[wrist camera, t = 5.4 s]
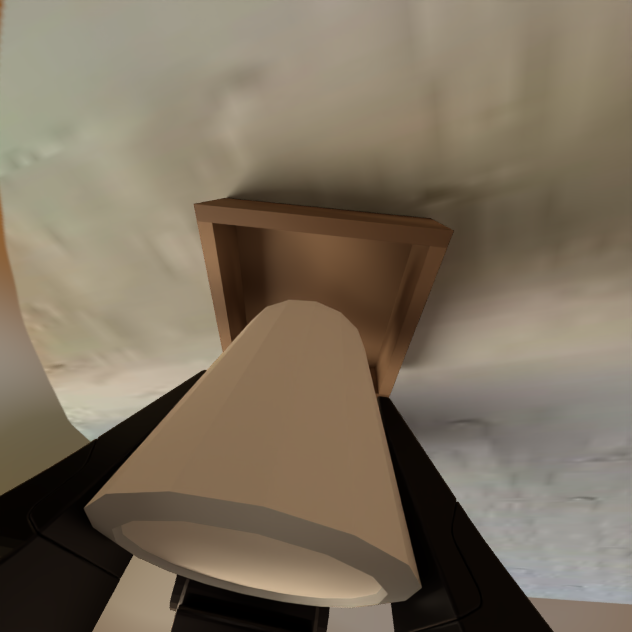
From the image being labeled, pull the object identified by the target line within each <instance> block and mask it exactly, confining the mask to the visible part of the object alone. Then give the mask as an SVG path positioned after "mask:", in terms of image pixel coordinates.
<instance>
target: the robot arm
mask: <svg viewBox="0 0 632 632" xmlns="http://www.w3.org/2000/svg"><path fill="white" fill-rule="evenodd" d="M206 371H207V370H203V371H201V372H199V373H198V374H196V375H195V376H193V377H191V378H190V379H188V380H187V381H185V382H184V383H182V384H181V385H179V386H177V387H176V388H174V389H173V390H171V391H170V392H168V393H166V394H165V395H163V396H162V397H160V398H159V399H157V400H156V401H154V402H152V403H151V404H149V405H148V406H146V407H145V408H143V409H141V410H140V411H138V412H137V413H135V414H134V415H132V416H131V417H129V418H127V419H126V420H124V421H123V422H121V423H120V424H118V425H116V426H115V427H113V428H112V429H110V430H109V431H107V432H106V433H104V434H102V435H101V436H99V437H98V439H94V440H93V441H91V442H90V443H88V444H87V445H85V446H84V447H82V448H80V449H79V450H77V451H76V452H74V453H72V454H71V455H69V456H67V457H66V458H64V459H63V460H61V461H59V462H58V463H56V464H54V465H53V466H51V467H49V468H48V469H46V470H44V471H42V472H41V473H39V474H37V475H36V476H34V477H33V478H31V479H29V480H27V481H25V482H24V483H22V484H20V485H18V486H16V487H15V488H13V489H11V490H9V491H8V492H6V493H4V494H3V495H1V496H0V632H92V631H93V629H94V627H95V625H96V623H97V622H98V620H99V618H100V616H101V614H102V612H103V611H104V609H105V607H106V605H107V603H108V601H109V599H110V597H111V596H112V594H113V592H114V590H115V588H116V586H117V584H118V583H119V581H120V578H121V577H122V575H123V573H124V571H125V569H126V567H127V566H128V564H129V562H130V560H131V558H132V556H133V554H132V553H130V552H129V551H127V550H126V549H124V548H122V547H121V546H119V545H118V544H117V543H115V542H114V541H112V540H111V539H109V538H108V537H106V536H105V535H103V534H102V533H100V532H99V531H98V530H96V529H95V528H93V526H92V524H91V522H90V520H89V518H88V516H87V514H86V512H85V510H84V507H85V506H86V505H87V504H88V503H89V502H90V501H91V499H92V498H93V497H94V496H95V495H96V494H97V493H98V492H99V491H100V489H101V488H102V487H103V486H104V485H105V484H106V483H107V482H108V480H109V479H110V478H111V477H112V476H113V475H114V474H115V473H116V472H117V470H118V469H119V468H120V467H121V466H122V465H123V464H124V463H125V461H126V460H127V459H128V458H129V457H130V456H131V455H132V454H133V452H134V451H135V450H136V449H137V448H138V447H139V446H140V445H141V444H142V442H143V441H144V440H145V439H146V438H147V437H148V436H149V435H150V433H151V432H152V431H153V430H154V429H155V428H156V427H157V426H158V425H159V423H160V422H161V421H162V420H163V419H164V418H165V417H166V416H167V414H168V413H169V412H170V411H171V410H172V409H173V408H174V407H175V406H176V404H177V403H178V402H179V401H180V400H181V399H182V398H183V397H184V395H185V394H186V393H187V392H188V391H189V390H190V389H191V388H192V386H193V385H194V384H195V383H196V382H197V381H198V380H199V379H200V378H201V376H202V375H203V374H204V373H205V372H206ZM377 403H378V407H379V411H380V415H381V419H382V423H383V428H384V432H385V436H386V440H387V444H388V448H389V453H390V457H391V461H392V465H393V469H394V473H395V478H396V482H397V486H398V490H399V494H400V498H401V503H402V507H403V511H404V515H405V519H406V523H407V528H408V532H409V536H410V540H411V544H412V549H413V553H414V557H415V561H416V565H417V569H418V574H419V578H420V582H421V586H422V588H421V589H420V590H418V591H417V592H416V593H415V594H413V595H412V596H411V597H409V598H408V599H407V600H406V601H399V602H393V603H391V607H392V615H393V624H394V632H553V630H552V629H551V628H550V627H549V625H548V624H547V622H546V621H545V620H544V619H543V617H542V616H541V615H540V613H539V612H538V611H537V609H536V608H535V607H534V605H533V604H532V603H531V601H530V600H529V599H528V598H527V596H526V595H525V594H524V592H523V591H522V590H521V588H520V587H519V586H518V584H517V583H516V582H515V580H514V579H513V578H512V576H511V575H510V574H509V573H508V571H507V570H506V569H505V567H504V566H503V565H502V563H501V562H500V561H499V559H498V558H497V556H496V555H495V554H494V552H493V551H492V550H491V548H490V547H489V546H488V544H487V543H486V542H485V540H484V539H483V537H482V536H481V534H480V533H479V531H478V530H477V529H476V527H475V526H474V524H473V523H472V521H471V520H470V518H469V517H468V515H467V514H466V512H465V511H464V509H463V508H462V506H461V505H460V503H459V502H456V498H455V496H454V495H453V493H452V491H451V490H450V488H449V487H448V485H447V484H446V482H445V481H444V479H443V478H442V476H441V475H440V473H439V472H438V470H437V469H436V467H435V466H434V464H433V463H432V461H431V460H430V458H429V457H428V455H427V454H426V452H425V451H424V449H423V448H422V446H421V445H420V443H419V442H418V440H417V439H416V437H415V436H414V434H413V433H412V431H411V430H410V428H409V427H408V425H407V424H406V422H405V421H404V419H403V418H402V416H401V415H400V413H399V412H398V410H397V409H396V407H395V406H394V404H393V403H392V401H391V400H390V398H388V397H384V396H378V397H377ZM329 608H330V607H320V606H312V605H304V604H296V603H289V602H282V601H277V600H272V599H267V598H262V597H257V596H252V595H247V594H242V593H238V592H235V591H231V590H227V589H223V588H219V587H216V586H212V585H208V584H205V583H202V582H199V581H196V580H193V579H190V578H187V577H184V576H181V575H178V574H177V577H176V581H175V585H174V588H173V592H172V596H171V600H170V610H173V611H176V613H175V616H174V620H173V623H172V626H171V630H170V632H326V631H327V625H328V618H329Z"/></svg>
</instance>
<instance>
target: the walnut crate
mask: <svg viewBox="0 0 632 632" xmlns="http://www.w3.org/2000/svg"><path fill="white" fill-rule="evenodd" d="M194 208H195V213H196V218H197V224H198V229H199V234H200V239H201V244H202V249H203V254H204V259H205V264H206V269H207V274H208V279H209V284H210V290H211V295H212V300H213V305H214V310H215V315H216V320H217V325H218V330H219V335H220V340H221V345H222V350H223V352H224V351H225V350H226V348H227V347H228V346H229V345H230V344H231V343H232V342H233V341H234V340H235V338H236V337H237V336H238V335H239V334H240V333H241V332H242V331H243V329H244V328H245V327H246V326H247V325H248V324H249V323H250V322H251V321H252V320H253V319H254V318H255V317H256V316H257V315H258V314H259V313H260V312H261V311H262V310H264V309H265V308H266V307H267V306H271V305H274V304H277V303H280V302H284V301H287V300H302V301H316V302H318V303H321V304H323V305H325V306H327V307H330V308H332V309H334V310H337V311H339V312H341V313H342V314H343V315H344V316H345V317H346V318H347V319H348V320H349V321H350V322H351V323H352V324H353V325H354V326H355V327H356V328H357V329H358V332H359V335H360V337H361V340H362V343H363V346H364V348H365V352H366V357H367V361H368V365H369V369H370V373H371V377H372V382H373V386H374V390H375V394H376V398H377V397H378V396H384V397H388V398H389V396H390V393H391V391H392V388H393V386H394V383H395V380H396V378H397V375H398V373H399V370H400V368H401V365H402V362H403V360H404V357H405V355H406V352H407V350H408V347H409V345H410V342H411V339H412V337H413V334H414V332H415V329H416V327H417V324H418V321H419V319H420V316H421V314H422V311H423V309H424V306H425V303H426V301H427V298H428V296H429V293H430V291H431V288H432V286H433V283H434V280H435V278H436V275H437V273H438V270H439V268H440V265H441V262H442V260H443V257H444V255H445V252H446V250H447V247H448V244H449V242H450V239H451V237H452V234H453V232H454V230H452V229H450V228H448V227H446V226H444V225H442V224H440V223H439V222H437V221H435V220H433V219H431V218H421V217H411V216H401V215H391V214H381V213H371V212H361V211H351V210H341V209H331V208H321V207H311V206H301V205H291V204H281V203H271V202H261V201H251V200H241V199H231V198H222V199H217V200H212V201H207V202H201V203H196V204H194Z"/></svg>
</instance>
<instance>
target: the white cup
mask: <svg viewBox="0 0 632 632" xmlns="http://www.w3.org/2000/svg"><path fill="white" fill-rule="evenodd" d="M84 510H85V512H86V514H87V516H88V518H89V520H90V522H91V524H92V526H93V528H95V529H96V530H98V531H99V532H100V533H102V534H103V535H105V536H106V537H108V538H109V539H111V540H112V541H114V542H115V543H117V544H118V545H119V546H121V547H122V548H124V549H126V550H127V551H129V552H130V553H132V554H133V555H135V556H136V557H138V558H140V559H142V560H145V561H147V562H149V563H151V564H153V565H156V566H158V567H160V568H162V569H165V570H167V571H169V572H172V573H175V574H178V575H181V576H184V577H187V578H190V579H193V580H196V581H199V582H202V583H205V584H208V585H212V586H216V587H219V588H223V589H227V590H231V591H235V592H238V593H242V594H247V595H252V596H257V597H262V598H267V599H272V600H277V601H282V602H289V603H296V604H304V605H312V606H320V607H347V608H348V607H349V608H355V607H363V606H372V605H379V604H385V603H393V602H399V601H406V600H407V599H408V598H409V597H411V596H412V595H413V594H415V593H416V592H417V591H418V590H420V589H421V588H422V586H421V582H420V578H419V574H418V569H417V565H416V561H415V557H414V553H413V549H412V544H411V540H410V536H409V532H408V528H407V523H406V519H405V515H404V511H403V507H402V503H401V498H400V494H399V490H398V486H397V482H396V478H395V473H394V469H393V465H392V461H391V457H390V453H389V448H388V444H387V440H386V436H385V432H384V428H383V423H382V419H381V415H380V411H379V407H378V403H377V398H376V394H375V390H374V386H373V382H372V377H371V373H370V369H369V365H368V361H367V357H366V352H365V348H364V346H363V343H362V340H361V337H360V335H359V332H358V329H357V328H356V327H355V326H354V325H353V324H352V323H351V322H350V321H349V320H348V319H347V318H346V317H345V316H344V315H343V314H342V313H341V312H339V311H337V310H334V309H332V308H330V307H327V306H325V305H323V304H321V303H318V302H316V301H302V300H287V301H284V302H280V303H277V304H274V305H271V306H267V307H266V308H265V309H264V310H262V311H261V312H260V313H259V314H258V315H257V316H256V317H255V318H254V319H253V320H252V321H251V322H250V323H249V324H248V325H247V326H246V327H245V328H244V329H243V331H242V332H241V333H240V334H239V335H238V336H237V337H236V338H235V340H234V341H233V342H232V343H231V344H230V345H229V346H228V347H227V348H226V350H225V351H224V352H223V353H222V354H221V355H220V356H219V357H218V359H217V360H216V361H215V362H214V363H213V364H212V365H211V366H210V367H209V369H208V370H207V371H206V372H205V373H204V374H203V375H202V376H201V378H200V379H199V380H198V381H197V382H196V383H195V384H194V385H193V386H192V388H191V389H190V390H189V391H188V392H187V393H186V394H185V395H184V397H183V398H182V399H181V400H180V401H179V402H178V403H177V404H176V406H175V407H174V408H173V409H172V410H171V411H170V412H169V413H168V414H167V416H166V417H165V418H164V419H163V420H162V421H161V422H160V423H159V425H158V426H157V427H156V428H155V429H154V430H153V431H152V432H151V433H150V435H149V436H148V437H147V438H146V439H145V440H144V441H143V442H142V444H141V445H140V446H139V447H138V448H137V449H136V450H135V451H134V452H133V454H132V455H131V456H130V457H129V458H128V459H127V460H126V461H125V463H124V464H123V465H122V466H121V467H120V468H119V469H118V470H117V472H116V473H115V474H114V475H113V476H112V477H111V478H110V479H109V480H108V482H107V483H106V484H105V485H104V486H103V487H102V488H101V489H100V491H99V492H98V493H97V494H96V495H95V496H94V497H93V498H92V499H91V501H90V502H89V503H88V504H87V505H86V506H85V507H84Z"/></svg>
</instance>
